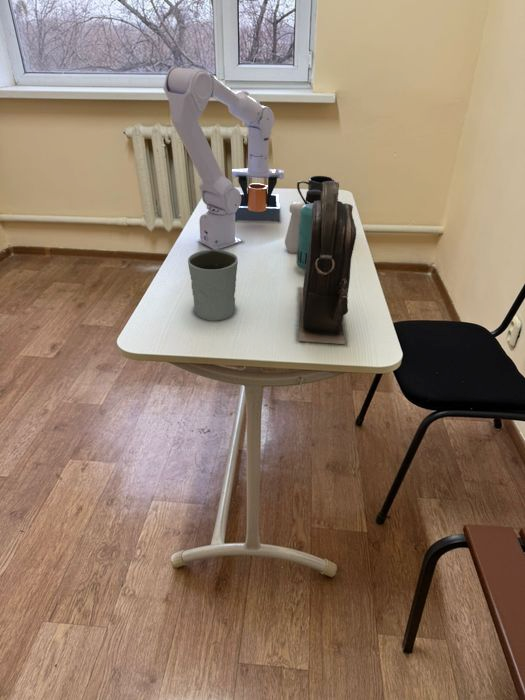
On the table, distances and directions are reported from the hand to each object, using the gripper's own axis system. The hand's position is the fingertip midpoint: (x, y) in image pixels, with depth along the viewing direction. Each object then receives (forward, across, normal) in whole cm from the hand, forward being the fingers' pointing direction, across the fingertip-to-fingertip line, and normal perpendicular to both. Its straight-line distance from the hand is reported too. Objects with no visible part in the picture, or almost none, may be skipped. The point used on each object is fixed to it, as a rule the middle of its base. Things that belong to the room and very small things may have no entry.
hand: (257, 203), depth 138 cm
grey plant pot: (+8, +9, +48) cm, 50 cm away
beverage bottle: (+8, -13, +28) cm, 32 cm away
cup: (+2, 0, 0) cm, 2 cm away
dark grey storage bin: (+8, 0, -12) cm, 14 cm away
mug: (+8, -19, -19) cm, 28 cm away
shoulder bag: (+8, -14, +49) cm, 52 cm away
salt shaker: (+8, -11, +16) cm, 20 cm away
